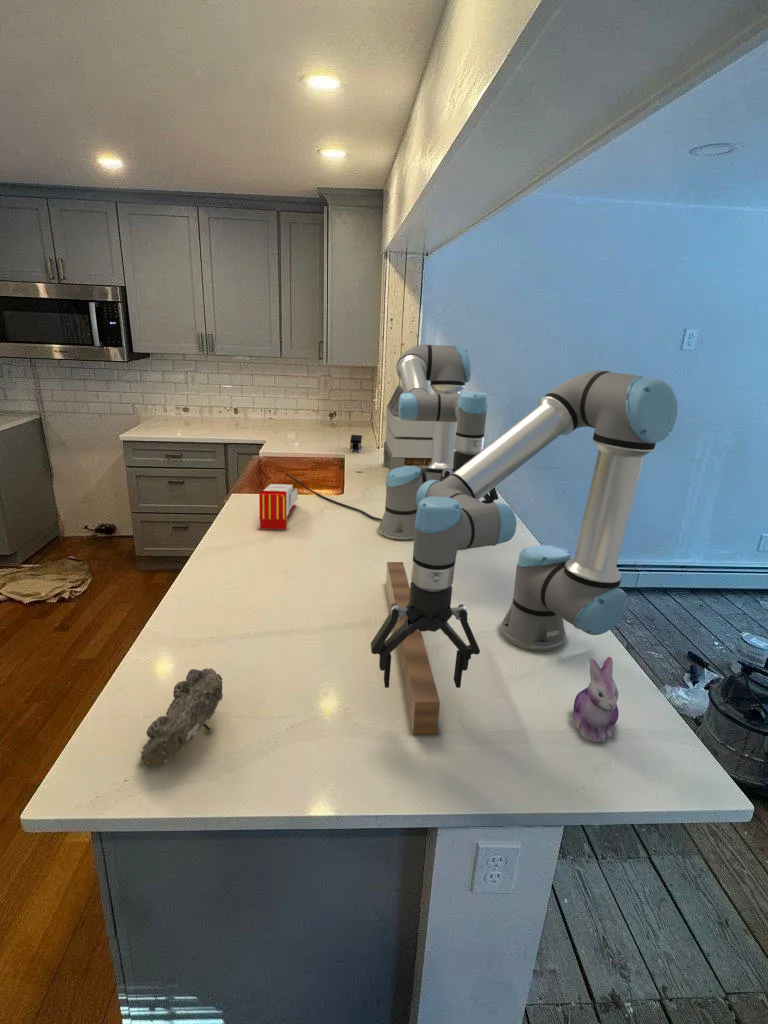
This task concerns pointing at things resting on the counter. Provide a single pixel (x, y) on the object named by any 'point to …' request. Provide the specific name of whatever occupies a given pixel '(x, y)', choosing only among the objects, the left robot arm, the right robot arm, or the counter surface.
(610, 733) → the figurine
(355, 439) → the figurine character
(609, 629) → the right robot arm
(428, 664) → the post
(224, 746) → the counter surface
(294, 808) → the counter surface
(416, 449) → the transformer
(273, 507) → the toy
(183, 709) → the fossil
